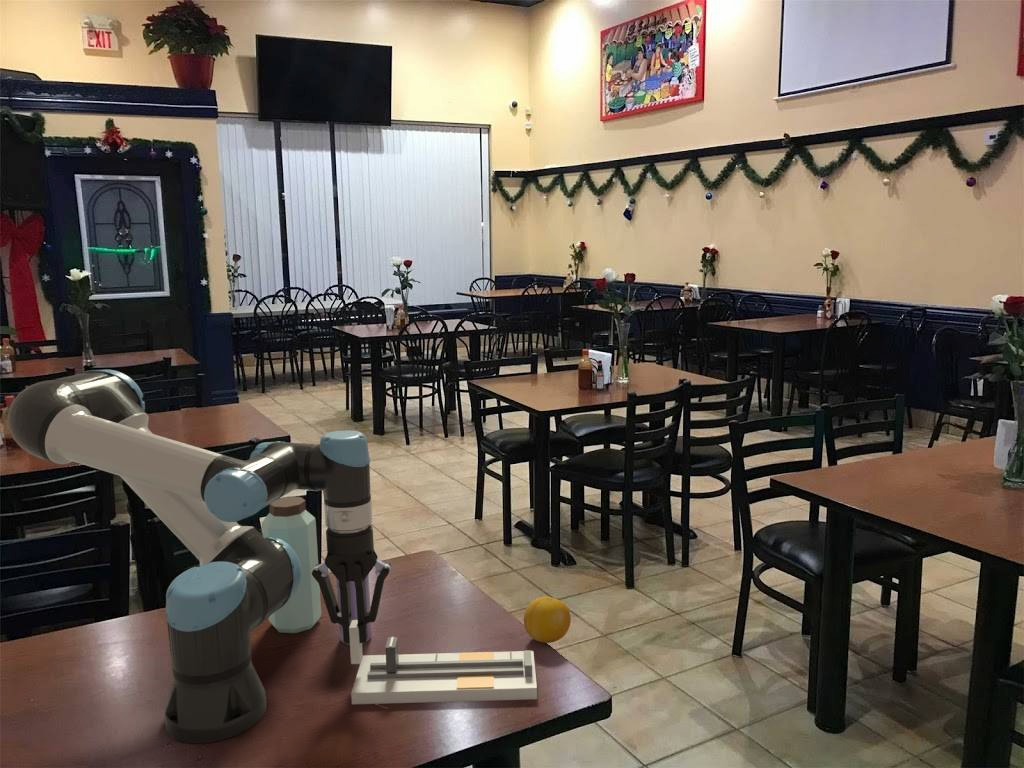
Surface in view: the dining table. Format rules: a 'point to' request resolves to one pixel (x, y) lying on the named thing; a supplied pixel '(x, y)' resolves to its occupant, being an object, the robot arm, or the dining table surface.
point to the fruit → (547, 619)
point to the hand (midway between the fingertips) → (356, 659)
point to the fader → (392, 654)
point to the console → (446, 678)
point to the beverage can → (355, 606)
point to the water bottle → (300, 534)
